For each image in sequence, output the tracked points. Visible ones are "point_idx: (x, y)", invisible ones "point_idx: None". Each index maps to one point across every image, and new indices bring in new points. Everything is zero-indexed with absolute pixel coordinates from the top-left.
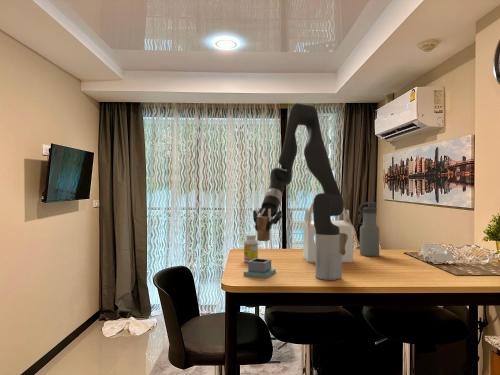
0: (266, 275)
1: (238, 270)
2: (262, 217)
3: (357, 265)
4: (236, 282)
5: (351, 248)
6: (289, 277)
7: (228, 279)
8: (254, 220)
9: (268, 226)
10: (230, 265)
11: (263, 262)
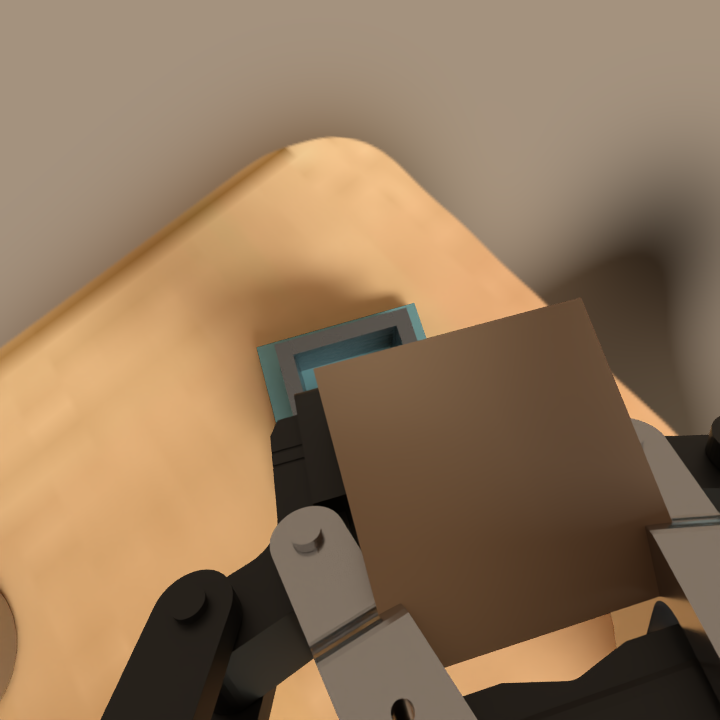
0: (259, 349)
1: None
2: (420, 344)
3: None
4: (339, 186)
5: None
6: (157, 468)
7: (414, 199)
8: (716, 429)
9: (290, 442)
10: None
11: None
